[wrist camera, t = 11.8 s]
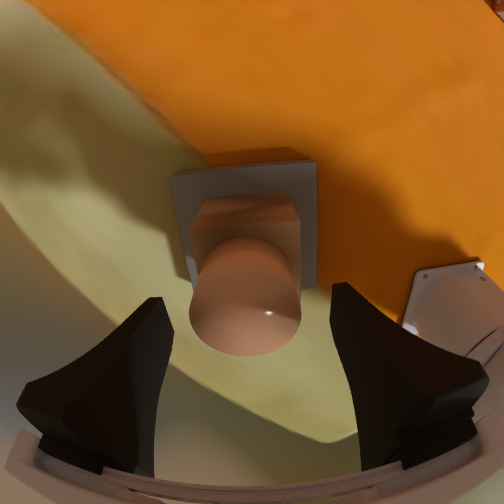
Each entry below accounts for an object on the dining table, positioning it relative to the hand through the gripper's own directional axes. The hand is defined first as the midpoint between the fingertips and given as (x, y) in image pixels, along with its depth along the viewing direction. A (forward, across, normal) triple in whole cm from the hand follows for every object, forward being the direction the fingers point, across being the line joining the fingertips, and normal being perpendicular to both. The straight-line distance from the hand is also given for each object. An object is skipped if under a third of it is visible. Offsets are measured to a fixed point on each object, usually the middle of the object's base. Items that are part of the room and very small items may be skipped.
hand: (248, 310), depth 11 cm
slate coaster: (+9, 0, 0) cm, 9 cm away
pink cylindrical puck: (+2, 0, 0) cm, 2 cm away
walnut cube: (+7, 0, 0) cm, 7 cm away
